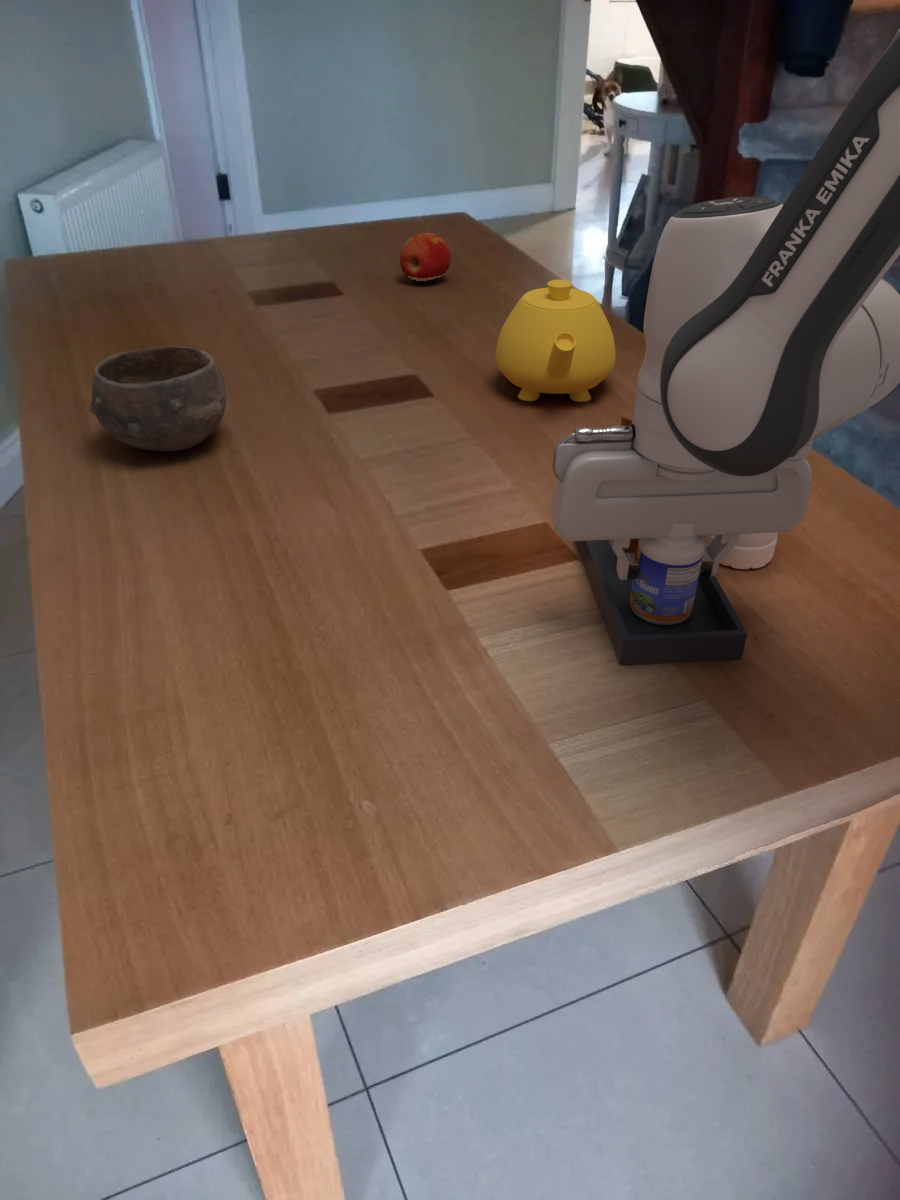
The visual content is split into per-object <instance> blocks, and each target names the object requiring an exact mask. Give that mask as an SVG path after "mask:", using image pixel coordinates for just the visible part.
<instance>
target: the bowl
mask: <svg viewBox="0 0 900 1200" xmlns="http://www.w3.org/2000/svg"><path fill="white" fill-rule="evenodd" d="M92 378H93V379H92V386H91V397H92V399H91V401H90V403H89V405H88V410H89V412H91V413H92V414H93V415H94V416H96V419H97V421H98V423H99V424H100V426H101V427H102V428H103V429H104V430H105V431H106V432H107V433H109V434H110V435H111V436H113V437H114V438H115V439H117V440H118V441H120V442H121V443H123V444H126V445H128V446H130V447H134V448H137V449H141V450H145V451H149V452H179V451H185V450H189V449H191V448H193V447H196V446H197V445H199V444H200V443H202V442H204V441H205V440H206V439H207V438H208V437H209V436H210V435H211V434H212V433H213V432H214V431H215V430H216V429H217V427H219V425H220V423H221V422H222V420H223V417H224V415H225V411H226V407H227V406H226V405H227V386H226V385H227V384H226V381H225V379H224V377H223V375H222V372H221V370H220V368H219V366H218V364H217V363H216V361H215V360H214V358H213V357H212V356H211V355H210V354H209V353H208V352H206V351H204V350H202V349H198V348H195V347H190V346H182V345H163V346H161V345H160V346H159V345H158V346H149V347H146V348H145V347H144V348H138V349H137V348H136V349H132V350H128V351H122V352H121V351H120V352H117V353H114V354H111V355H109V356H107V357H105V358H103V359H102V360H100V361H99V362H98V363H97V364H96V366H95V368H94V372H93V376H92Z"/></svg>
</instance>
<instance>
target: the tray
mask: <svg viewBox="0 0 900 1200" xmlns="http://www.w3.org/2000/svg"><path fill="white" fill-rule="evenodd" d="M575 544H576V547H577V549H578V552H579V555H580V558H581V560H582V563H583V565H584V568H585V572H586V574H587V577H588V579H589V583H590V585H591V588H592V590H593V595H594V597H595V599H596V602H597V605H598V608H599V611H600V613H601V616H602V619H603V621H604V624H605V627H606V630H607V633H608V637H609V638H610V641H611V645H612V646H613V649H614V653H615V655H616V658H617V660H618V663H619V664H618V665H620V666H624V665H644V664H661V663H664V664H665V663H680V662H681V663H682V662H683V663H684V662H701V661H702V662H703V661H717V660H718V661H720V660H721V661H722V660H738V659H739V660H740V659H743V654H744V650H745V648H746V647H745V646H746V642H747V638H748V632H747V629H745V627H744V625H743V623H742V621H741V620H740V617H739V616H738V613H737V612H736V611H735V609H734V606H733V605H732V603H731V602H730V599H729V598H728V596H727V594H726V593H725V591H724V590H723V587H722V586H721V584H720V582H719V581H718V578H717V576H701V577H699V578H698V583H697V588H696V593H695V598H694V603H693V608H692V612H691V614H690V616H689V617H688V618H687V619H686V620H685V621H683V622H681V623H678V624H674V625H658V624H653V623H650V622H647V621H645V620H643V619H641V618H639V617H638V616H637V615H636V614H635V613H634V612H633V611H632V609H631V606H630V595H631V589H632V583H633V580H620V579H619V577H618V574H617V561H616V559H615V552H614V551H613V549H612V546H611V544H610V542H609V540H592V541H575Z"/></svg>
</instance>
